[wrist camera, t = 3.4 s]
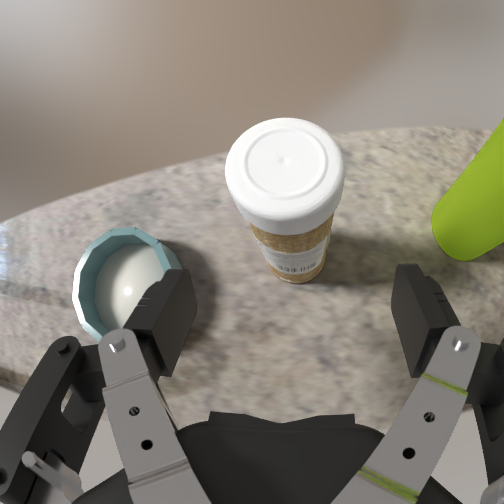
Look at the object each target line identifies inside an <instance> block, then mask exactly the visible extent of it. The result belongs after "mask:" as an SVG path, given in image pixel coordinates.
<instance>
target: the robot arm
mask: <svg viewBox="0 0 504 504" xmlns="http://www.w3.org/2000/svg"><path fill="white" fill-rule="evenodd" d="M196 310H197V304H196V298H195V294H194V290H193V286H192V282H191V278H190V274H189V271H188V270H187V269H168V270H167V271H166V273H165V274H164V276H163V277H162V279H161V281H156V282H155V283H154V284H152V285H151V286H150V287H149V288H147V290H146V291H145V293H144V294H143V296H142V299H140V300H139V302H138V304H137V306H136V307H135V308H134V310H133V312H132V313H131V315H130V316H129V318H128V320H127V321H126V323H125V324H124V326H123V328H122V329H116V330H113V331H110V332H109V333H107V334H106V335H105V336H103V337H102V339H101V340H100V342H99V344H96V345H89V346H81V344H80V343H79V341H78V339H77V338H76V337H73V336H65V337H62V338H59V339H58V340H56V341H55V342H54V343H52V345H51V346H50V347H49V349H48V350H47V352H46V353H45V355H44V356H43V358H42V359H41V361H40V363H39V364H38V366H37V367H36V369H35V371H34V372H33V374H32V375H31V377H30V379H29V380H28V382H27V384H26V385H25V387H24V389H23V390H22V392H21V394H20V396H19V397H18V399H17V401H16V403H15V404H14V406H13V408H12V410H11V412H10V413H9V415H8V417H7V419H6V421H5V423H4V425H3V426H2V428H1V430H0V502H2V503H4V504H462V503H461V502H460V501H459V500H458V499H457V498H455V497H454V496H453V495H452V494H451V493H450V492H448V491H447V490H446V489H445V488H444V487H443V486H442V485H441V484H440V483H438V482H437V481H436V480H435V479H434V478H433V477H432V476H431V474H432V471H433V470H434V468H435V466H436V464H437V463H438V460H439V459H440V457H441V455H442V453H443V451H444V449H445V447H446V445H447V443H448V441H449V438H450V436H451V434H452V432H453V430H454V427H455V425H456V423H457V421H458V418H459V416H460V414H461V411H462V409H463V406H464V404H465V403H468V404H472V405H473V409H474V413H475V417H476V421H477V425H478V430H479V434H480V439H481V444H482V449H483V454H484V459H485V465H486V471H487V478H488V485H489V486H488V487H487V488H486V489H485V491H484V492H483V494H482V497H481V502H480V504H504V338H503V340H502V342H501V344H500V345H496V344H489V343H482V342H480V339H479V337H478V335H477V334H476V333H475V332H474V331H472V330H471V329H469V328H467V327H464V326H461V324H460V322H459V320H458V318H457V316H456V315H455V313H454V311H453V309H452V307H451V305H450V303H449V302H448V299H447V298H446V296H445V294H444V292H443V290H442V289H441V287H440V285H439V284H438V283H437V282H436V281H435V280H434V279H432V278H431V277H430V276H424V275H423V273H422V271H421V269H420V267H419V266H418V264H399V265H398V266H397V269H396V275H395V281H394V286H393V292H392V298H391V310H392V315H393V318H394V321H395V324H396V327H397V330H398V334H399V337H400V340H401V344H402V347H403V350H404V354H405V357H406V361H407V365H408V368H409V372H410V376H411V378H417V377H420V379H419V381H418V382H417V384H416V386H415V388H414V390H413V391H412V393H411V395H410V396H409V398H408V400H407V402H406V403H405V405H404V407H403V408H402V410H401V411H400V413H399V415H398V416H397V418H396V419H395V421H394V423H393V424H392V426H391V427H390V429H389V430H388V432H387V433H386V435H384V434H383V433H381V432H379V431H377V430H375V429H373V428H370V427H367V426H364V425H360V424H355V417H354V414H345V415H320V416H315V417H311V418H306V419H302V420H297V421H292V422H287V423H276V422H272V421H268V420H264V419H260V418H257V417H253V416H249V415H246V414H235V413H223V412H212V411H211V412H210V416H209V420H208V421H204V422H199V423H195V424H192V425H189V426H186V427H184V428H182V429H179V427H178V425H177V423H176V421H175V419H174V417H173V415H172V413H171V411H170V408H169V406H168V404H167V402H166V400H165V398H164V395H163V393H162V391H161V389H160V386H159V384H158V379H159V377H160V376H166V377H171V376H172V373H173V371H174V368H175V366H176V363H177V361H178V358H179V356H180V353H181V350H182V348H183V345H184V343H185V340H186V338H187V335H188V333H189V330H190V328H191V325H192V323H193V320H194V318H195V315H196ZM69 388H70V389H71V391H72V392H73V393H72V395H71V397H70V399H69V401H68V403H67V405H66V407H65V409H64V411H63V413H62V412H61V403H62V401H63V399H64V397H65V395H66V393H67V391H68V389H69ZM105 406H106V409H107V413H108V417H109V420H110V424H111V427H112V431H113V434H114V437H115V441H116V444H117V447H118V450H119V454H120V457H121V459H122V462H123V465H124V468H123V469H122V470H120V471H119V472H117V473H116V474H114V475H113V476H111V477H110V478H108V479H107V480H105V481H103V482H102V483H100V484H99V485H97V486H95V487H94V488H92V489H90V490H89V491H87V492H85V493H84V492H83V490H82V489H81V480H80V477H79V472H80V469H81V467H82V464H83V461H84V458H85V456H86V453H87V451H88V448H89V445H90V443H91V440H92V437H93V435H94V433H95V430H96V427H97V425H98V423H99V420H100V418H101V415H102V413H103V410H104V408H105Z"/></svg>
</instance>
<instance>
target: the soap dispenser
mask: <svg viewBox="0 0 504 504" xmlns="http://www.w3.org/2000/svg"><path fill="white" fill-rule="evenodd" d="M431 222H432V230H433V234H434V237H435V239H436V241H437V243H438V244H439V246H440V247H441V249H442V250H443V251H444V252H445V253H446V254H448V255H449V256H450V257H452V258H454V259H456V260H460V261H470V260H473V259H475V258H477V257H479V256H481V255H482V254H484V253H486V252H488V251H489V250H491V249H493V248H494V247H496V246H498V245H500V244H501V243H503V242H504V118H503V120H502V121H501V123H500V124H499V125H498V127H497V128H496V130H495V131H494V132H493V134H492V135H491V136H490V138H489V139H488V141H487V142H486V143H485V145H484V146H483V147H482V149H481V150H480V151H479V152H478V154H477V155H476V156H475V158H474V159H473V160H472V161H471V163H470V164H469V165H468V167H467V168H466V169H465V170H464V172H463V173H462V174H461V175H460V177H459V178H458V179H457V180H456V181H455V183H454V184H453V185H452V186H451V187H450V189H449V190H448V191H447V192H446V193H445V195H444V196H443V197H442V198H441V199H440V200H439V202H438V203H437V204H436V206H435V207H434V210H433V213H432V220H431Z"/></svg>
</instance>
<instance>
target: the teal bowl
mask: <svg viewBox="0 0 504 504" xmlns="http://www.w3.org/2000/svg"><path fill="white" fill-rule="evenodd" d="M90 245H91V246H88V248H87V250H86V251H85V253H84V255H83V257H82V259H81V260H80V262H79V264H78V266H77V268H76V269H77V270H78V271H75V278H74V287H73V297H72V298H74V299H73V303H74V306H75V309H76V312H77V315H78V318H79V321H80V324H81V325H82V327H83V328H84V329H85V330H86V331H87V332H88V333H89V334H90V335H91V336H92V337H93V338H95V339H96V340H97V341H98V342H100V340H101V339H102V337H103V336H105V335H106V334H107V333H109V332H110V331H113V330H116V329H122V328H123V326H124V324H125V323H126V321H127V320H128V318H129V316H130V315H131V313H132V312H133V310H134V308H135V307H136V306H137V304H138V302H139V300H140V299H142V296H143V294H144V293H145V291H146V290H147V288H149V287H150V286H151V285H152V284H154V283H155V282H156V281H161V279H162V277H163V276H164V274H165V273H166V271H167V270H168V269H182V267H181V265H180V263H179V261H178V259H177V256H176V254H175V253H174V251H172V250H171V249H169V248H168V247H167V246H165V245H164V244H162V243H161V242H160V241H158V240H157V239H155V238H153V237H152V236H150V235H149V234H147V233H145V232H144V231H142V230H140V229H139V228H136V227H130V228H117V229H112V230H111V229H110V230H109V231H108V232H106V233H105V234H103V235H102V236H101V237H99V238H98V239H96V240H95V241H94V242H92V243H91V244H90Z"/></svg>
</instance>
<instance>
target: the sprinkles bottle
mask: <svg viewBox="0 0 504 504" xmlns="http://www.w3.org/2000/svg"><path fill="white" fill-rule="evenodd" d="M225 176H226V181H227V185H228V188H229V190H230V193H231V195H232V197H233V200H234V202H235V203H236V205H237V207H238V209H239V211H240V212H241V213H242V215H243V216H244V217H245V218H246V219H247V220H248V221H249V223H250V226H251V229H252V232H253V234H254V236H255V238H256V240H257V242H258V244H259V246H260V248H261V250H262V252H263V254H264V256H265V258H266V260H267V263H268V266H269V268H270V269H271V271H272V273H273V274H274V275H275V276H276V277H278V278H279V279H281V280H283V281H285V282H289V283H303V282H307V281H309V280H311V279H312V278H314V277H315V276H316V275H318V273H319V272H320V271H321V269H322V268H323V266H324V263H325V258H326V249H327V248H328V244H329V241H330V236H331V225H332V220H333V215H334V211H335V210H336V208H337V206H338V204H339V201H340V199H341V195H342V191H343V186H344V178H345V162H344V157H343V154H342V151H341V149H340V147H339V145H338V144H337V142H336V141H335V139H334V138H333V137H332V136H331V135H330V134H329V133H328V132H326V131H325V130H324V129H323V128H321V127H319V126H318V125H316V124H313V123H311V122H309V121H305V120H301V119H296V118H277V119H271V120H267V121H264V122H261V123H259V124H257V125H255V126H253V127H252V128H250V129H249V130H247V131H246V132H244V133H243V134H242V135H241V136H240V137H239V138H238V139H237V141H236V142H235V143H234V144H233V146H232V148H231V150H230V152H229V154H228V157H227V160H226V166H225Z"/></svg>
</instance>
